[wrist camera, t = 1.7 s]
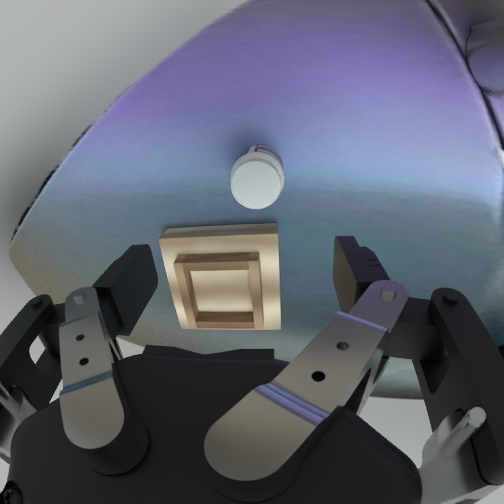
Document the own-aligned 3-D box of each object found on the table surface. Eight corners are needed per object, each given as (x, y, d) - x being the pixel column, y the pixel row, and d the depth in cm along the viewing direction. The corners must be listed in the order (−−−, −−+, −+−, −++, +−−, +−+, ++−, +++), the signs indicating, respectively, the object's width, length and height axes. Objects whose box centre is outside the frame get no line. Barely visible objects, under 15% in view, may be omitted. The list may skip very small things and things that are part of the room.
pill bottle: (246, 193, 31) (237, 221, 24) (231, 152, 29) (216, 167, 22) (288, 180, 30) (293, 204, 23) (274, 138, 28) (275, 148, 21)
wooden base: (167, 228, 34) (152, 247, 30) (277, 222, 33) (277, 242, 28) (186, 314, 40) (177, 338, 35) (280, 314, 39) (280, 340, 34)
